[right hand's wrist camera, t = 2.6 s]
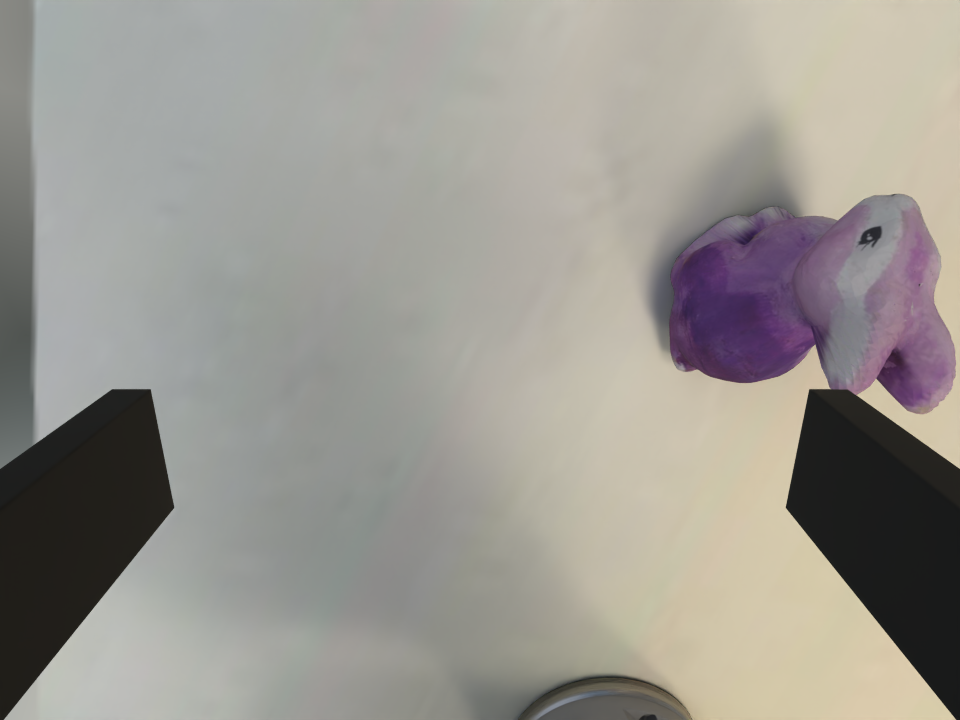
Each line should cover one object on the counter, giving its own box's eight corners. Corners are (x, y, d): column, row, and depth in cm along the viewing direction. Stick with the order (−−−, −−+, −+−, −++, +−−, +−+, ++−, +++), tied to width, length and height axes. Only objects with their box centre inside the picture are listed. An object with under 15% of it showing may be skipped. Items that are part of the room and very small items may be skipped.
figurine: (820, 171, 35) (1048, 201, 21) (816, 341, 38) (1009, 465, 24) (650, 199, 36) (762, 248, 21) (662, 365, 39) (765, 500, 25)
